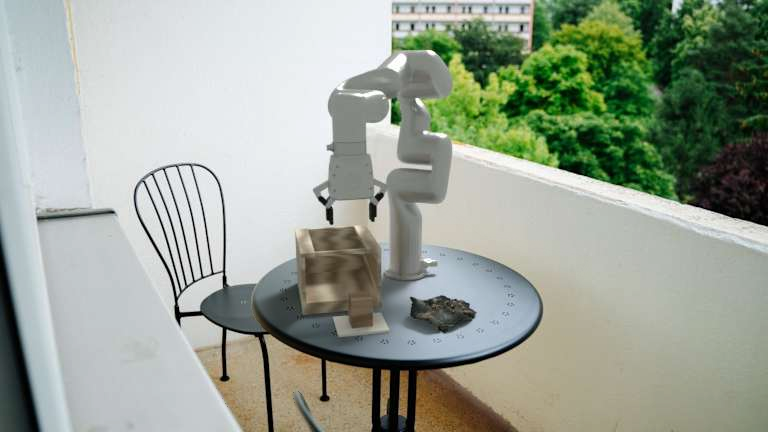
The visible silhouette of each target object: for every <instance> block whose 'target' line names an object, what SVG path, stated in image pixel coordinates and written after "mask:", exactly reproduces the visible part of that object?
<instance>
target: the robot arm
mask: <svg viewBox="0 0 768 432" xmlns="http://www.w3.org/2000/svg"><path fill="white" fill-rule="evenodd" d="M452 75H453V74H452V72H451V70H450V69H449V68H448V66H447V64H446V63H445V61H444V60H443V59H442V58H441V56H439V54H437V53H436V52H435V51H433V50H430V49H429V50H428V49H422V50H421V49H419V50H418V49H415V50H410V49H408V50H406V49H405V50H404V49H403V50H398V51H396V52H395V51H394V53H391V55H389V56H388V58H386V59H385V60H384V61H383V62H382V63H381V64H380V65H378V67H376V68H374V69H372V70H368V71H366V72H362V73H360V74H358V75H355V76H352V77H349V78H348V79H347V78H346V79H345V80H344V81H342V82H340V84H338V85H337V86H336V87H335V88H334V89H333V91H331V93H330V95H329V97H328V101H327V112H328V113H329V116H330V117H331V121H332V122H331V123H332V127H331V129H332V142H331V143H330V144H326V151H328V152H329V151H330V152H332V154H331V155H330V157H329V164H328V175H327V176H328V177H327V178H328V179H327V180H325V181H323V182H321V183H320V184H318V185H317V186H315V187H314V188H312V192H313V194H314V195H315V198H316V199H317V201H318V202H320V204H321V205H323V207H325V221H328V223H329V225H330V226H333V225H334V207H332V206H333V205H334V203H335V202H336V201H340V202H341V201H354V200H355V201H357V200H369V203H368V219H369V220H370V222H372V223H375V222H376V220H375V219H376V218H377V217H378V214H377V213H378V204H379V202H380V201H381V200H382V199H383V198H384V197H385V194H386V193H387V199H388V200H387V201H388V211H389V265H387V266H385V267H384V269H383V270H384V275H385V276H386V277H388V278H390V279H393V280H397V281H414V280H415V281H416V280H419V279H423V278H424V277H425V276H427V273H428V272H427V271H428V270H427V269H428V268H435V267H438V264H439V263H438V260H437V259H436V260H435V259H431V258H425V259H424V258H423V257H422V256H423V254H422V252H423V249H422V248H423V215H422V212H421V210H420V208H419V206H418V203H419V204H427V205H439V204H441V203H443V202H444V201H445V199H446V196H447V193H448V186H449V180H450V172H451V165H452V158H453V143H452V139H451V138H450V136H449V135H447V134H445V133H442V132H431V131H430V129H431V122H432V115H431V113H430V112H429V109H428V108H427V106H426V105H425V104H424V102H423V101H422V99H429V100H430V99H431V100H443V99H446V98H448V97H449V96H450V95H451V93H452V91H453V86H454V79H453V76H452ZM395 98H396V99H397V102H398V104H399V107H400V112H401V121H400V126H399V127H400V128H399V133H398V139H397V146H396V147H397V148H396V155H397V156H396V157H397V159H398V160H399V162H400V163H402V164H405V165H412V166H413V165H414V166H425V167H431V169H421V168H412V167H411V168H410V167H399V168H398V167H397V168H394V169H393V170H390V172H389V173H388V174H387V176H386V179H385V180H386V181H385V182H382V181H381V180H378V179H376V178H374V171H373V170H374V169H373V161H372V157H371V154H369V153H368V152H367V151H368V149H367V124H377V123H380V122H383V120H385V119H386V117H387V116H388V114H389V111H390V101H389V100H392V99H395ZM375 186H376V187H378V188H379V191H378V192H377V193H376V194H375ZM326 189H328V190H327V191H328V194H329V195H328V196H327V198H325V197H324V196H323V195H322V192H323V191H325V190H326Z"/></svg>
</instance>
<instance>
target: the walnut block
mask: <svg viewBox="0 0 768 432" xmlns="http://www.w3.org/2000/svg"><path fill="white" fill-rule="evenodd" d="M347 312H348V315H349V322H350V324H351V327H352V328H362V327H372V326H373V313H374V309H373V298H372V296H371V295H370V293H369V291H361V292H350V293H348V311H347Z"/></svg>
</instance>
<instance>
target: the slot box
mask: <svg viewBox="0 0 768 432" xmlns="http://www.w3.org/2000/svg"><path fill="white" fill-rule="evenodd" d="M294 232H295V233H294V236H295V239H294V240H295V259H296V261H295V262H296V277H297V278H296V279H297V288H298V294H299V299H300V305H301V311H302V315H303V316H304V315H307V316H308V315H315V314H316V315H317V314H318V315H319V314H326V313H327V314H328V313H338V312H339V313H340V312H348V293H350V292H361V291H369V293H370V295H371V296H372V298H373V310H374V309H381V308H382V299H383V298H382V295H383V294H382V247H381V246H380V244H379V243H378V241H377V240H376V238H375V237H374V235H373V234H372V232H371V230H370V229H369V228H368V226H367V225H366V224H363V225H362V224H360V225H359V224H358V225H344V226H343V225H342V226H328V227H324V226H323V227H311V228H295V229H294Z"/></svg>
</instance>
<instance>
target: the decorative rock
mask: <svg viewBox="0 0 768 432" xmlns="http://www.w3.org/2000/svg"><path fill="white" fill-rule="evenodd" d="M409 300H410V301H411V303H410V305H411V306H410V313H409V317H410V318H412V319H413V320H417V321H421V322H430V324H432V325H433V326H434V327H435V329H436V330H437V331H438V333H440V334H441V333H444V334H446V333H447V332H448V331H449V329H450V328H451V327H452V326H456V324H457V323H458V322H459V321H462V320H463V321H465V320H466V321H467V320H469V321H473V320H475V315H476V314H477V311H476V310H474V309H472V308H471V307H470V305H471V303H469V302H466V301H465V300H463V299H458V298H450V297H447V296H446V295H438V296H435V297H432V298H427V299H419V298H416V297H413V296H410V297H409Z"/></svg>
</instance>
